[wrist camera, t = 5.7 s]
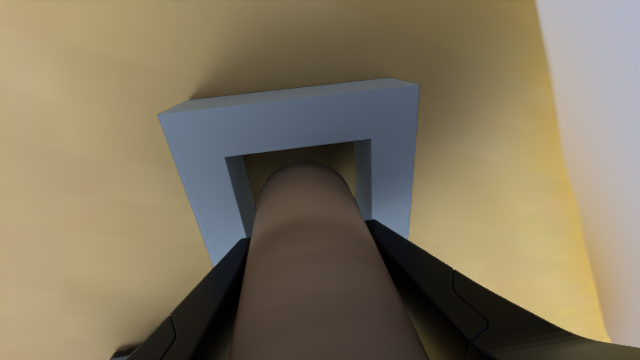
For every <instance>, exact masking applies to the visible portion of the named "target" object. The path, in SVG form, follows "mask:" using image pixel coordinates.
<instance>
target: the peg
mask: <svg viewBox="0 0 640 360" xmlns="http://www.w3.org/2000/svg"><path fill="white" fill-rule="evenodd" d="M228 360H430V359H429V357H428V355H427V353H426V351H425V349H424V346H423V344H422V342H421V340H420V338H419V336H418V334H417V332H416V329H415V327H414V325H413V323H412V321H411V319H410V317H409V314H408V312H407V310H406V308H405V306H404V304H403V302H402V300H401V297H400V295H399V293H398V291H397V289H396V287H395V285H394V283H393V280H392V278H391V276H390V274H389V272H388V270H387V268H386V266H385V263H384V261H383V259H382V257H381V255H380V253H379V251H378V249H377V246H376V244H375V242H374V240H373V238H372V236H371V234H370V231H369V229H368V227H367V225H366V223H365V221H364V219H363V217H362V214H361V212H360V210H359V208H358V206H357V204H356V202H355V200H354V197H353V195H352V193H351V191H350V189H349V187H348V185H347V183H346V181H345V180H344V178H343V177H342V176H341V175H340V174H339V173H338V172H337V171H335V170H334V169H332V168H331V167H329V166H326V165H324V164H321V163H316V162H297V163H293V164H289V165H287V166H284V167H282V168H280V169H279V170H277V171H276V172H274V173H273V174H272V175H271V176H270V177H269V178H268V179H267V180H266V182H265V183H264V185H263V187H262V189H261V191H260V194H259V199H258V204H257V210H256V215H255V220H254V225H253V231H252V236H251V241H250V246H249V252H248V257H247V262H246V268H245V273H244V278H243V283H242V289H241V294H240V299H239V304H238V310H237V315H236V320H235V326H234V331H233V336H232V341H231V347H230V352H229V357H228Z"/></svg>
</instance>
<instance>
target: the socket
mask: <svg viewBox="0 0 640 360" xmlns="http://www.w3.org/2000/svg"><path fill="white" fill-rule="evenodd" d="M419 89H420V85H419V84H415V83H411V82H406V81H402V80H398V79H394V78H381V79H372V80H363V81H354V82H345V83H336V84H327V85H318V86H309V87H300V88H292V89H283V90H274V91H265V92H256V93H247V94H238V95H229V96H220V97H211V98H202V99H193V100H187V101H185V102H183V103H181V104H178V105H176V106H174V107H172V108H170V109H168V110H166V111H164V112H162V113H160V114H157V116H158V118H159V121H160V124H161V127H162V129H163V132H164V135H165V137H166V140H167V143H168V145H169V148H170V151H171V154H172V156H173V159H174V162H175V164H176V167H177V170H178V173H179V175H180V178H181V181H182V183H183V186H184V189H185V191H186V194H187V197H188V200H189V202H190V205H191V208H192V210H193V213H194V216H195V219H196V221H197V224H198V227H199V229H200V232H201V235H202V238H203V240H204V243H205V246H206V248H207V251H208V254H209V256H210V259H211V262H212V265H213V267H215V265H216V264H217V263H218V262H219V261H220V260H221V259H222V258H223V257H224V256H225V255H226V254H227V253H228V252H229V250H230V249H231V248H232V247H233V246H234V245H235V244H236V243H237V242H238V241H239V240H240V239H241V238H247V237H251V236H252V231H253V225H254V220H255V215H256V208H255V204H254V199H253V195H252V191H251V187H250V183H249V179H248V174H247V170H246V166H245V162H244V158H243V155H245V154H253V153H261V152H269V151H277V150H285V149H292V148H300V147H308V146H316V145H324V144H332V143H340V142H348V141H354V156H355V185H356V204H357V206H358V208H359V210H360V212H361V214H362V217H363V219H364V221H365V220H371V219H375V220H377V221H378V222H380V223H382V224H383V225H385V226H386V227H388V228H390V229H391V230H393V231H394V232H396V233H398V234H399V235H401V236H402V237H404V238H406V239H407V240H408V235H409V222H410V209H411V195H412V182H413V169H414V155H415V142H416V129H417V116H418V102H419Z"/></svg>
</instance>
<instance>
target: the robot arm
mask: <svg viewBox="0 0 640 360" xmlns="http://www.w3.org/2000/svg"><path fill="white" fill-rule="evenodd" d="M365 223H366V225H367V227H368V229H369V231H370V234H371V236H372V238H373V240H374V242H375V244H376V246H377V249H378V251H379V253H380V255H381V257H382V259H383V261H384V263H385V266H386V268H387V270H388V272H389V274H390V276H391V278H392V280H393V283H394V285H395V287H396V289H397V291H398V293H399V295H400V297H401V300H402V302H403V304H404V306H405V308H406V310H407V312H408V314H409V317H410V319H411V321H412V323H413V325H414V327H415V329H416V332H417V334H418V336H419V338H420V340H421V342H422V344H423V346H424V349H425V351H426V353H427V355H428V357H429V359H430V360H640V348H637V347H631V346H625V345H618V344H612V343H606V342H600V341H596V340H592V339H588V338H584V337H581V336H578V335H576V334H573V333H571V332H568V331H566V330H564V329H562V328H560V327H558V326H556V325H554V324H552V323H550V322H548V321H546V320H544V319H543V318H541V317H539V316H537V315H535V314H533V313H531V312H529V311H527V310H526V309H524V308H522V307H520V306H518V305H516V304H514V303H512V302H510V301H508V300H507V299H505V298H503V297H501V296H499V295H497V294H496V293H494V292H492V291H490V290H488V289H486V288H485V287H483V286H481V285H480V284H478V283H476V282H475V281H473V280H471V279H470V278H468V277H466V276H465V275H463V274H461V273H460V272H458V271H457V270H453V268H452V267H450V266H449V265H447V264H445V263H444V262H442V261H441V260H439V259H437V258H436V257H434V256H433V255H431V254H429V253H428V252H426V251H425V250H423V249H421V248H420V247H418V246H417V245H415V244H414V243H412V242H410V241H409V240H407V239H406V238H404V237H402V236H401V235H399V234H398V233H396V232H394V231H393V230H391V229H390V228H388V227H386V226H385V225H383V224H382V223H380V222H378V221H377V220H375V219H371V220H365ZM250 241H251V237H247V238H241V239H240V240H239V241H238V242H237V243H236V244H235V245H234V246H233V247H232V248H231V249H230V250H229V252H228V253H227V254H226V255H225V256H224V257H223V258H222V259H221V260H220V261H219V262H218V263H217V264H216V265H215V267H214V268H213V269H212V270H211V271H210V272H209V273H208V274H207V275H206V276H205V277H204V278H203V279H202V280H201V282H200V283H199V284H198V285H197V286H196V287H195V288H194V289H193V290H192V291H191V292H190V293H189V294H188V295H187V297H186V298H185V299H184V300H183V301H182V302H181V303H180V304H179V305H178V306H177V307H176V308H175V309H174V310H173V312H172V313H171V314H170V316H168V317H167V318H166V319H165V320H164V321H163V322H162V323H161V324H160V325H159V326H158V327H157V328H156V329H155V331H154V332H153V333H152V334H151V335H150V336H149V337H148V338H147V339H146V340H145V341H144V342H143V343H142V344H141V345H140V346H139V347H138V348H137V349H132V350H126V351H120V352H116V353H114V354H113V355H112V357H111V359H110V360H228V357H229V352H230V347H231V341H232V336H233V331H234V326H235V320H236V315H237V310H238V304H239V299H240V294H241V289H242V283H243V278H244V273H245V268H246V262H247V257H248V252H249V246H250Z"/></svg>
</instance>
